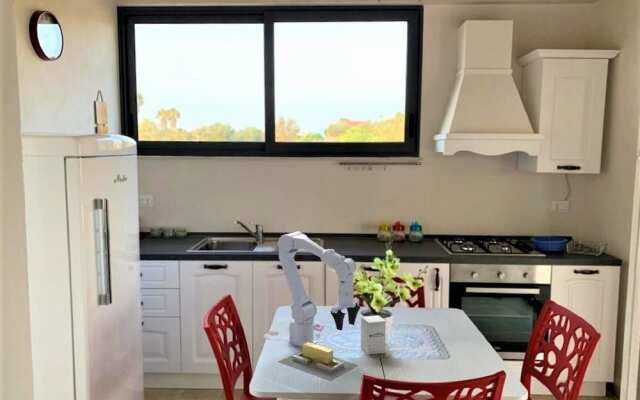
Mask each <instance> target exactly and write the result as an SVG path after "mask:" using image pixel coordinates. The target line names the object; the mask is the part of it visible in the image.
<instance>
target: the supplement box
mask: <svg viewBox="0 0 640 400" xmlns="http://www.w3.org/2000/svg"><path fill="white" fill-rule="evenodd" d="M386 322H387V321H386V320H385V319H384V318H383V317H382V316H380V315H368V316H361V318H360V349H361V350H362V351H364V353H365V354H366V355H376V354H385V353H386Z"/></svg>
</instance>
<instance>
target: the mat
mask: <svg viewBox="0 0 640 400" xmlns="http://www.w3.org/2000/svg"><path fill="white" fill-rule="evenodd" d="M302 351H303V350H301V351H298V352H296V353H294V354H292V355H290V356H287V357H285V358H282V359H281V360H279V361H278V362H277V363H280V364H283V365H286V366H289V367H292V368H294V369H296V370H299V371H303V372H305V373H308V374H310V375H312V376H316V377H318V378H321V379H324V380H325V381H329V382H331V381H333V380H335V379H337V378H339V377H341V376H342V375H344V374H345V373H348V372H349V371H351V370H353V369H354V368H357V367H359V364H356V363H353V362H350V361H346V360H344V359H341V358H338V357H334V356H333V359H334V360H337V361H340V362H343V363H344V367H343V368H341V369H340V370H338V371H336V372H334V373H332V374H330V373H328V372H325V371H322V370H319V369H316V365H315V364H313V363H310V364H308V365H305V364H302V363H300V362H297V361H294V360H293V356H294V355H296V354H298V353H300V352H302ZM333 367H334V366H333Z"/></svg>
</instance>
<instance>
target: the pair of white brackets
mask: <svg viewBox="0 0 640 400" xmlns="http://www.w3.org/2000/svg"><path fill="white" fill-rule="evenodd" d="M301 351H302V352H300V351H299V352H300V353H298V352H297V353H298V354H296V353H295V354H296V355H294V354H293V355H294V356H293V360H294V361H297V362H300V363H302V364H305V365H308V364H310V360H309V359H306V358H303V350H301ZM333 366H334V367H329V366H326V365H324V364H321V363H317V364H316V369H319V370H322V371H325V372H328V373H330V374H332V373H334V372H336V371H338V370H340V369H341V368H343V367H344V363H343V362H340V361H337V360H334V359H333Z"/></svg>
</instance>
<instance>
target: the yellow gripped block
mask: <svg viewBox="0 0 640 400" xmlns="http://www.w3.org/2000/svg"><path fill="white" fill-rule="evenodd" d="M302 351H303V358H306V359H309V360H310V363H313V364H315V365H316V364H317V363H321V364H324V365H326V366H329V367H333V357H334V349H332V348H331V349H330V348H327V347H326V346H325V347H324V346H322V345H318V344H316V343H315V344H312V343H309V342H306V343H304V344H303V347H302Z"/></svg>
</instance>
